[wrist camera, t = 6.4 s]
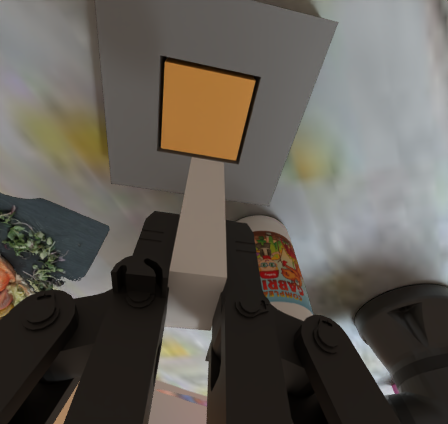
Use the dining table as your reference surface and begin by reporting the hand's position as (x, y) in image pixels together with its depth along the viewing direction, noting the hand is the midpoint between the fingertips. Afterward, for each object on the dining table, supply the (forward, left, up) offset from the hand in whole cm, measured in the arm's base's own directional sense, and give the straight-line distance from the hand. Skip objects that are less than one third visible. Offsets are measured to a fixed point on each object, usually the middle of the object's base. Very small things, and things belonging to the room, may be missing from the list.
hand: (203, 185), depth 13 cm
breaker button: (0, 0, -11) cm, 11 cm away
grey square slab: (0, 0, -11) cm, 11 cm away
